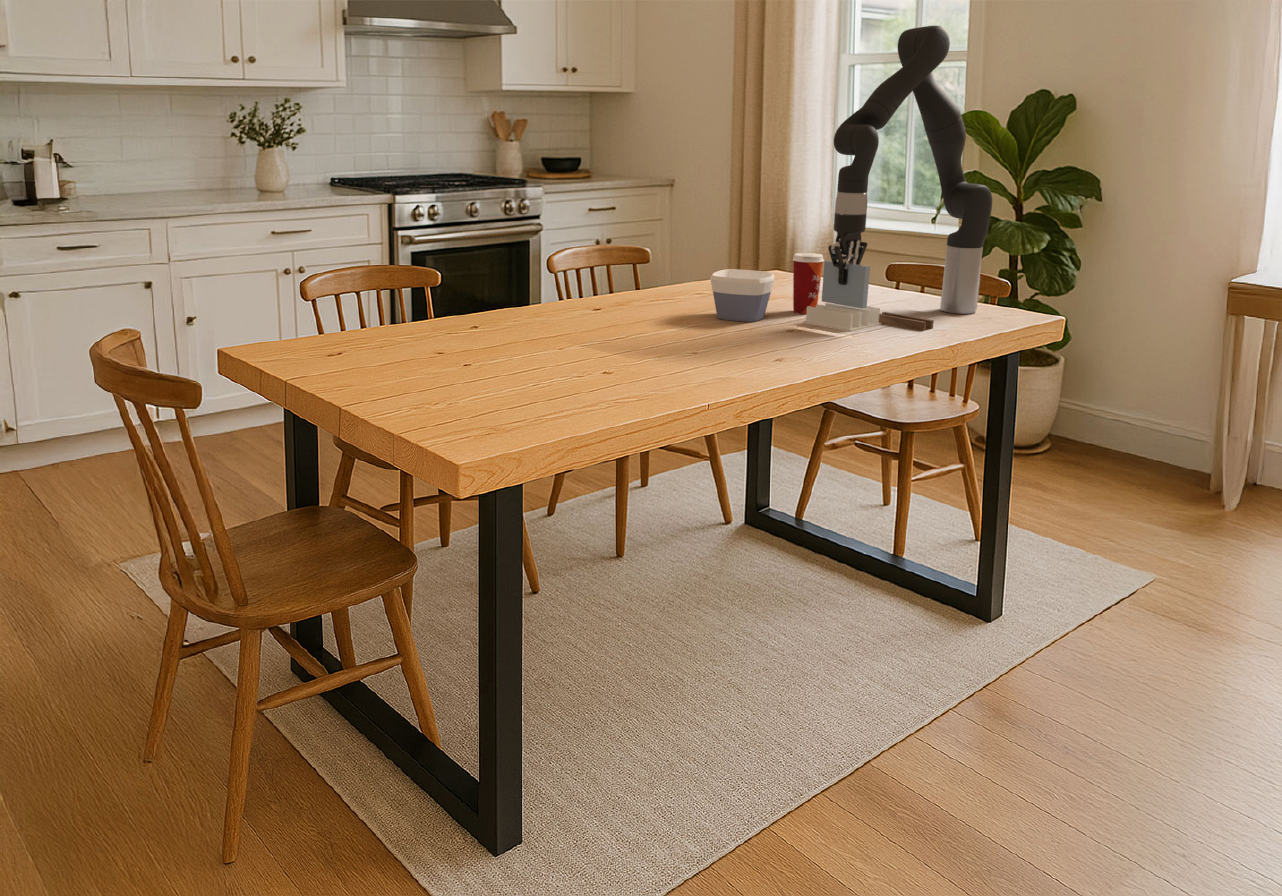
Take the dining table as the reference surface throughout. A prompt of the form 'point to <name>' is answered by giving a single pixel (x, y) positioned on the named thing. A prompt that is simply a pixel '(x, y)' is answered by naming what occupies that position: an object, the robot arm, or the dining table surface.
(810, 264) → the coffee cup
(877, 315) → the rack
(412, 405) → the dining table surface
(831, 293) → the grey-blue flat slab
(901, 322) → the stand
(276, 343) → the dining table surface
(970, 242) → the robot arm
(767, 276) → the bowl
